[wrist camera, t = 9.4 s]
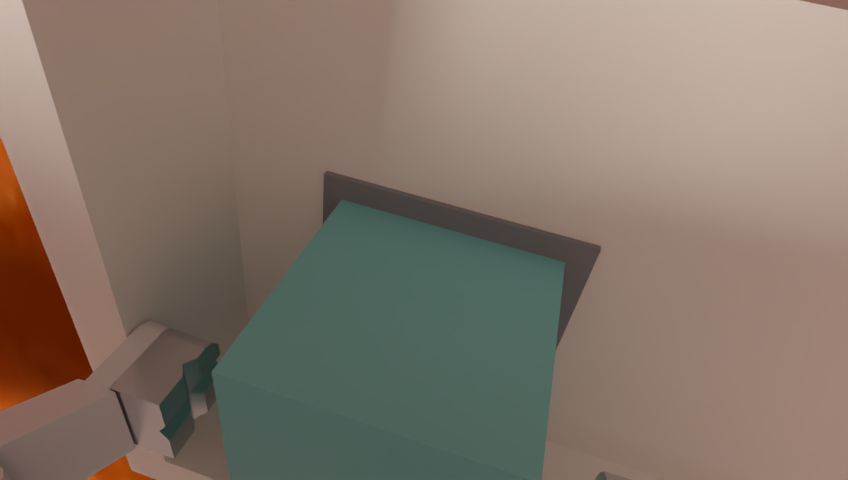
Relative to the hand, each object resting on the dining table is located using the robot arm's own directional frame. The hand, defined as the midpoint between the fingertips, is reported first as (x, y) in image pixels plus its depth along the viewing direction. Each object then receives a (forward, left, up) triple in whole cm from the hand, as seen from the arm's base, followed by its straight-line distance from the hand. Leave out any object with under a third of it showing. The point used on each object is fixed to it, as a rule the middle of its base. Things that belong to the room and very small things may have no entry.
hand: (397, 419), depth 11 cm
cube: (0, 0, -3) cm, 3 cm away
